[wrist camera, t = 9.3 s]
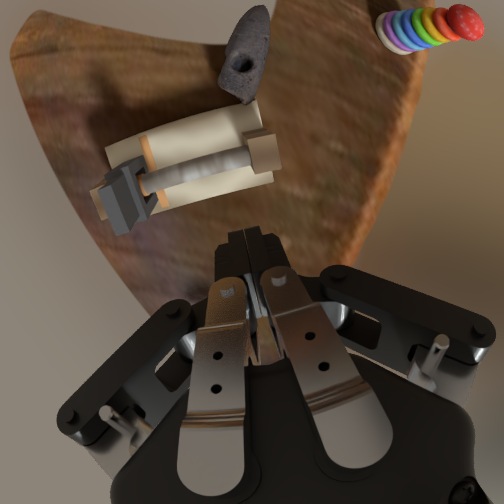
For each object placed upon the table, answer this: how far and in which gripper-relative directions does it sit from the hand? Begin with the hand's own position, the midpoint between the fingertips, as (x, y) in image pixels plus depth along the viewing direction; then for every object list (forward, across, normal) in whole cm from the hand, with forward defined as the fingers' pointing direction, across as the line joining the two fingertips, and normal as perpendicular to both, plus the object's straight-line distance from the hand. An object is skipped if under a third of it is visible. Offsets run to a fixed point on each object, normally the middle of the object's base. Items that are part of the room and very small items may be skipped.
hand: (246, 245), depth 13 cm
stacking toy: (+28, -30, -17) cm, 44 cm away
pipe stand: (+27, +6, 0) cm, 28 cm away
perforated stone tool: (+28, -5, -13) cm, 31 cm away
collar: (+22, +12, 0) cm, 25 cm away
